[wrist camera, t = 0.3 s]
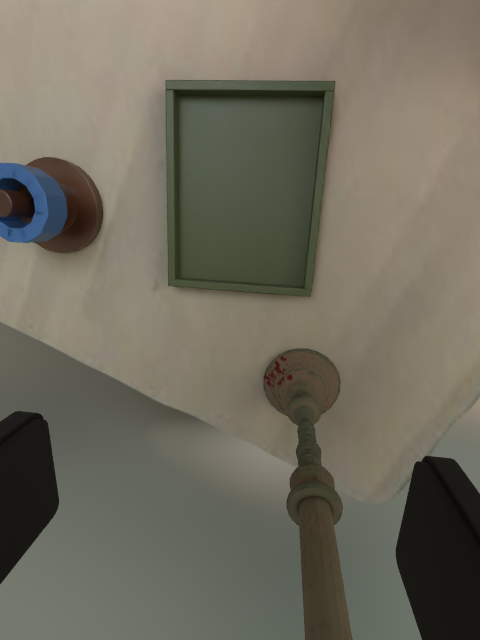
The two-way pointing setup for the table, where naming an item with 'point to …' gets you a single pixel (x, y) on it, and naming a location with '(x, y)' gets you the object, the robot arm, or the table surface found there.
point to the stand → (79, 200)
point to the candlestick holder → (312, 487)
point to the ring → (46, 203)
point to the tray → (245, 182)
